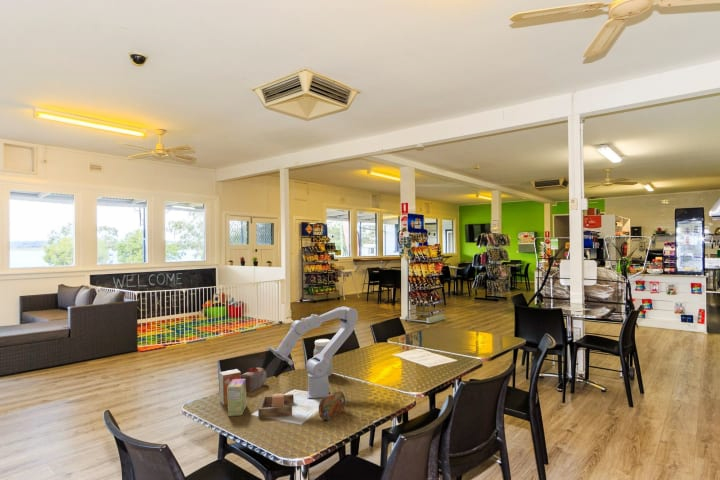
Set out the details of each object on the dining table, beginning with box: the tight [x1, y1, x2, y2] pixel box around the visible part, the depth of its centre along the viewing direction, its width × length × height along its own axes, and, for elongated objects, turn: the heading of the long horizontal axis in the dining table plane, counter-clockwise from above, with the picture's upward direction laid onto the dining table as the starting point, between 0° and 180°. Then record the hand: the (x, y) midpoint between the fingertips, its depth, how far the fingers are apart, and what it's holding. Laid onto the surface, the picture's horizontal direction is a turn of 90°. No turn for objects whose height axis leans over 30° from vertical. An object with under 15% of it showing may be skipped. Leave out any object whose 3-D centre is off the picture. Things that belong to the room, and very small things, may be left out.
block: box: [271, 392, 285, 407], centre depth 172 cm, size 4×4×6 cm
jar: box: [313, 338, 334, 377], centre depth 217 cm, size 10×10×18 cm
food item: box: [241, 367, 267, 394], centre depth 200 cm, size 14×8×10 cm, turn 163°
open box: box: [257, 393, 295, 419], centre depth 172 cm, size 13×14×4 cm
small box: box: [218, 368, 242, 406], centre depth 184 cm, size 8×6×13 cm
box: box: [227, 379, 247, 417], centre depth 172 cm, size 10×6×12 cm, turn 5°
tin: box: [318, 390, 346, 421], centre depth 165 cm, size 15×3×8 cm, turn 148°
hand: (269, 372), depth 177 cm, fingers open, 7 cm apart
